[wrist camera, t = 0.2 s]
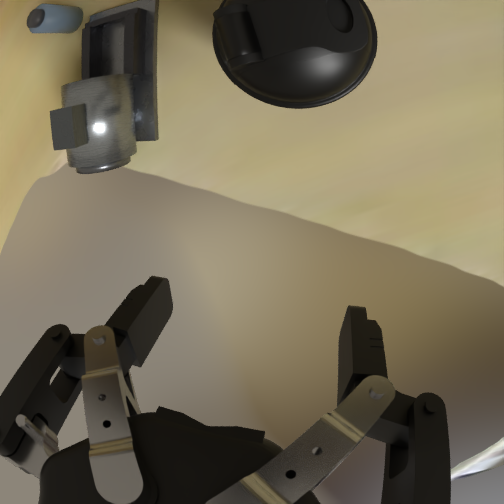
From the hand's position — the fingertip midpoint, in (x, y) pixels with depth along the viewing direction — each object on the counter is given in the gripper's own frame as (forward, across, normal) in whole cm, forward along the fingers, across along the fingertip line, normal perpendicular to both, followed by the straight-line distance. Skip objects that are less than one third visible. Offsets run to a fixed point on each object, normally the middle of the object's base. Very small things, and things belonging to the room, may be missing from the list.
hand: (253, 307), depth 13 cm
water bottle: (+29, 0, -13) cm, 32 cm away
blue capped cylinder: (+29, +37, -25) cm, 53 cm away
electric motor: (+29, +26, -12) cm, 41 cm away
